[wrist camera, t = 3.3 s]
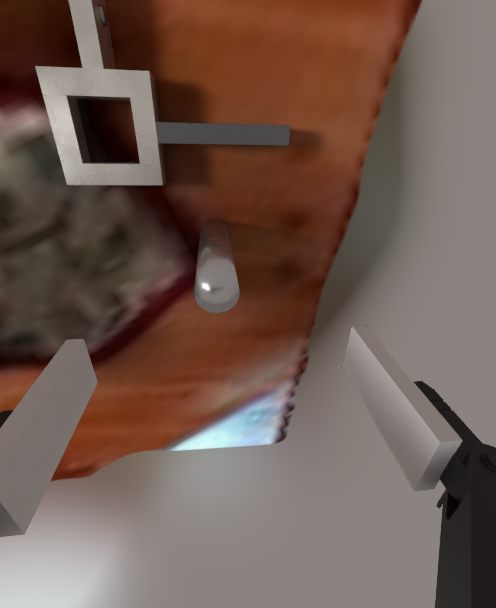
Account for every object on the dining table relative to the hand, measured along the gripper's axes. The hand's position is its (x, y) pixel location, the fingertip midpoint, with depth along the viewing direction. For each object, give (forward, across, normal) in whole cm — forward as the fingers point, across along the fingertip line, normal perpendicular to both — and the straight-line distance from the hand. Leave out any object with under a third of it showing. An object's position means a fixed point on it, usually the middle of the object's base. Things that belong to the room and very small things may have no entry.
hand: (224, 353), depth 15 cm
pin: (+23, 0, 0) cm, 23 cm away
